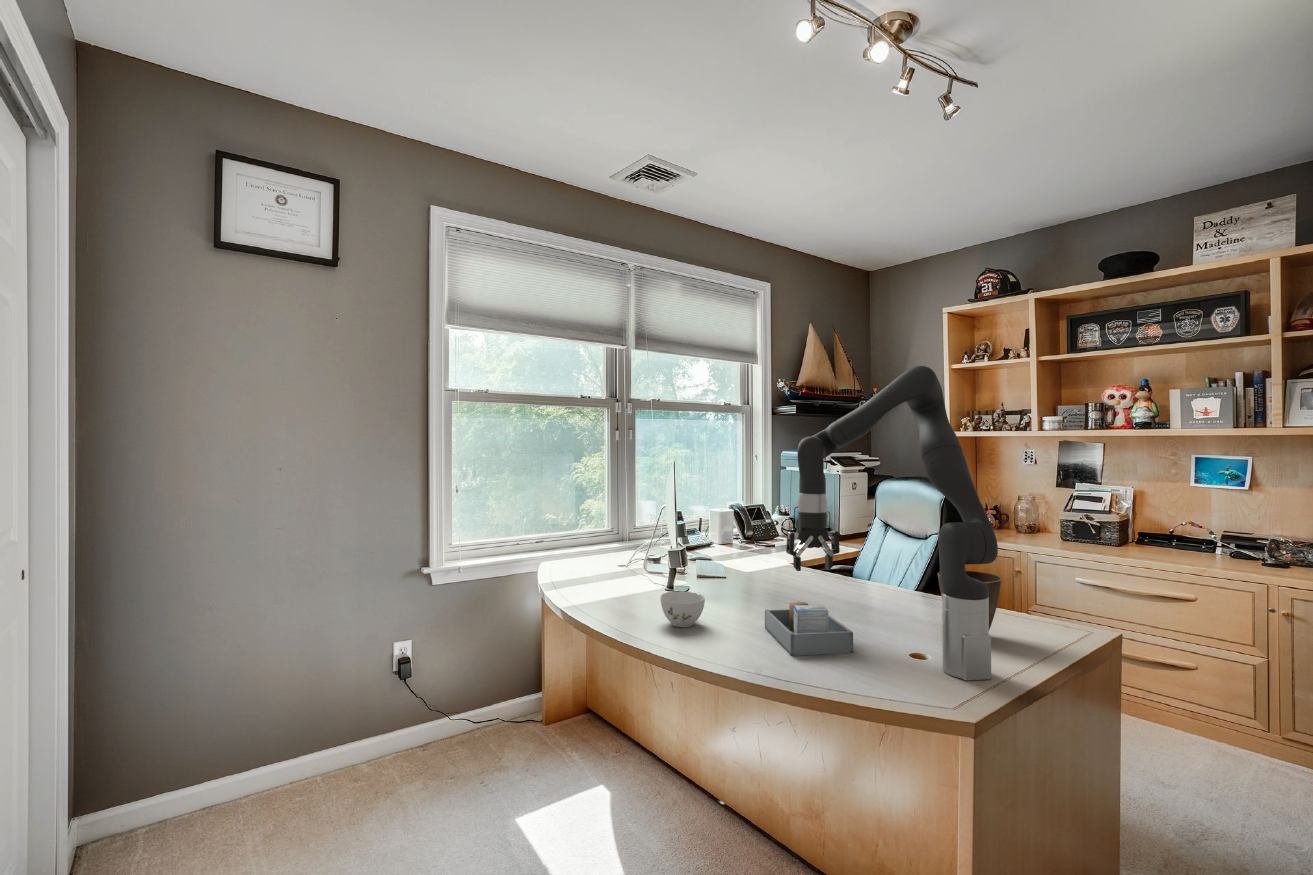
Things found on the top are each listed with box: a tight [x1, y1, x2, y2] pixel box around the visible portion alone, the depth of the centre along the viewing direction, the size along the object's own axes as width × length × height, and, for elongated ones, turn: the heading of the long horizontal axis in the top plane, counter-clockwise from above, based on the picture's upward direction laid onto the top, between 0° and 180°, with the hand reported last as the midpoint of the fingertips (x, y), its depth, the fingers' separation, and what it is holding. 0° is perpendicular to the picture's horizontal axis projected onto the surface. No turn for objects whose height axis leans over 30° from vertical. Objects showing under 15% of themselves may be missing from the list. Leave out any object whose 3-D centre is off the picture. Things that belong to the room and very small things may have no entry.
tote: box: [764, 608, 854, 657], centre depth 160 cm, size 22×16×5 cm
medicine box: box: [794, 604, 829, 634], centre depth 157 cm, size 8×4×9 cm, turn 89°
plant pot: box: [937, 570, 1002, 631], centre depth 162 cm, size 15×15×16 cm
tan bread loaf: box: [788, 601, 809, 632], centre depth 166 cm, size 5×5×7 cm
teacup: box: [659, 590, 706, 628], centre depth 175 cm, size 15×12×8 cm
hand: (813, 570), depth 168 cm, fingers open, 8 cm apart
